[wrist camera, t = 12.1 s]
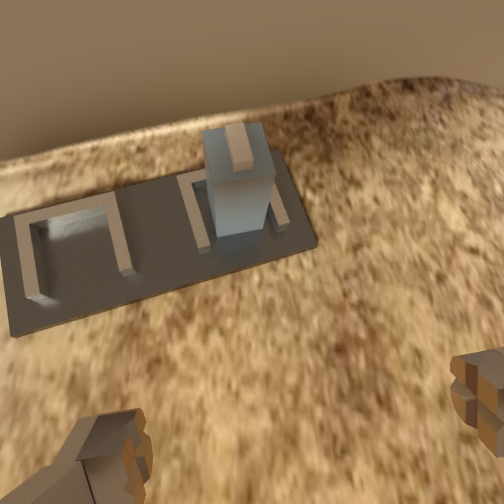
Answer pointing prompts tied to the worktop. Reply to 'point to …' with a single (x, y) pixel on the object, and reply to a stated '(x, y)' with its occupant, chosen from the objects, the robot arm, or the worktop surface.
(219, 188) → the plug
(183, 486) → the worktop surface
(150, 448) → the robot arm
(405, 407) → the worktop surface
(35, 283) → the panel
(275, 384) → the worktop surface
